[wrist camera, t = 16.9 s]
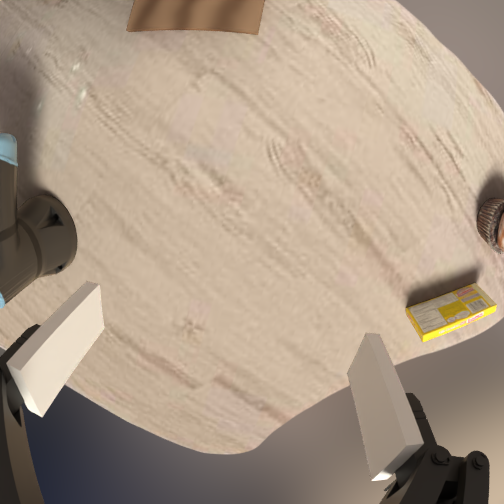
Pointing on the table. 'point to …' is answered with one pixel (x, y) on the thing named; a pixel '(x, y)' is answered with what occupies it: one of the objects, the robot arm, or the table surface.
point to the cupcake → (492, 224)
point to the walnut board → (196, 15)
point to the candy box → (450, 311)
